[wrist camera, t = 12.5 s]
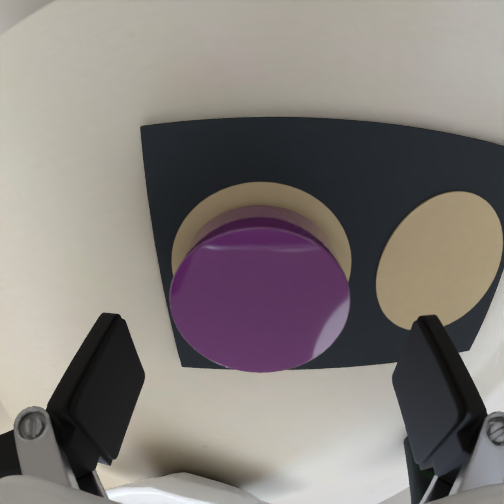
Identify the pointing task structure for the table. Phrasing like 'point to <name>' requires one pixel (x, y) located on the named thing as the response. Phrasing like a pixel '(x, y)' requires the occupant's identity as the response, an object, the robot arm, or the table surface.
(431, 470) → the cup
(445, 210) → the placemat
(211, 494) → the bowl
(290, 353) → the purple short cylinder
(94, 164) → the table surface
